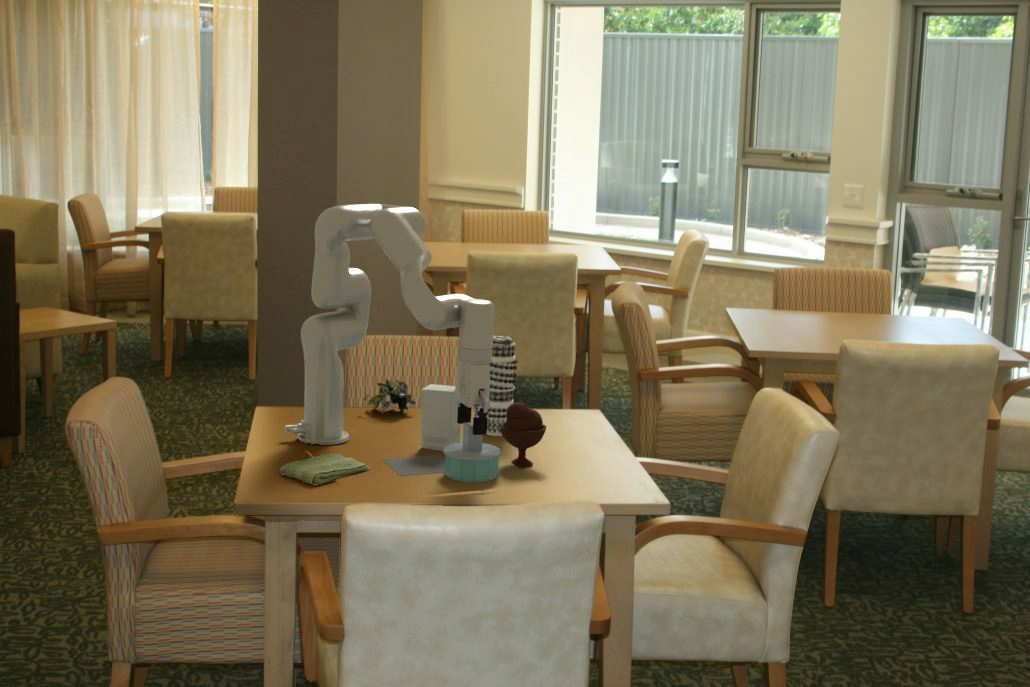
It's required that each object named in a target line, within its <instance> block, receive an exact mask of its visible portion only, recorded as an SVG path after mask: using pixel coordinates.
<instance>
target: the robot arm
mask: <svg viewBox="0 0 1030 687" xmlns="http://www.w3.org/2000/svg"><path fill="white" fill-rule="evenodd" d="M317 217H318V218H317V219H316V222H315V224H314V225H315V226H314V246H315V247H314V249H315V250H314V259H313V268H312V281H311V295H310V296H311V300H312V302H313V304H314V305H315V306H316V307H317V308H320V309H323V310H324V309H325V310H332V309H338V311H329V312H322V313H317V314H314V315H312V316H310V317H307V319H306V320H305V321H304V322H303V324H302V326H301V329H300V339H301V345H302V351H303V360H304V404H303V406H304V410H303V412H304V416H303V417H304V418H303V419H300V422H298V423H297V424H286V425H284V433H285V434H288V433H289V434H291V433H292V435H297V440H298V439H299V440H300V441H299V440H298V441H299V442H301V441H302V442H301V443H303V442H305V443H304V444H307V443H311V444H310V445H313V444H319V445H318V446H334V445H339V444H344V443H346V442H348V441H349V440H350V434H349V433H348V432H347V431H345V430H344V393H345V392H344V387H345V386H344V385H345V384H344V382H345V379H344V378H345V377H344V376H345V375H344V370H345V369H344V365H343V362H342V359H341V358H340V356H339V353H338V351H341V350H346V349H351V348H355V347H357V346H361V344H362V343H363V342H364V340H365V338H366V336H367V332H368V326H369V320H370V319H369V318H370V308H371V301H372V285H371V281H370V278H369V277H368V275H367V273H365V271H364V270H362V269H360V268H357V267H350V265H351V264H350V263H351V262H350V261H351V251H350V248H349V246H348V245H349V244H348V243H347V242H348V241H349V242H350V241H367V240H375V241H376V242H377V243H378V245H379V246H380V248H381V249H382V250H383V252H384V253H385V254H386V257H388V259H389V260H390V261H391V263H392V264H393V265H394V267H395V268H396V269H397V271H398V272H399V274H400V290H401V296H402V298H403V301H404V303H405V305H406V307H407V308H408V310H409V311H410V312H411V314H412V315H413V317H414V318H415V319H416V321H417V322H418V323H419V324H420V325H421V326H422V327H424V328H425V329H427V330H430V331H441V330H446V329H447V330H448V329H452V328H453V329H454V328H458V327H459V340H458V341H459V342H458V359H457V360H458V364H457V370H456V378H455V386H456V388H455V398H456V399H457V400H458V403H457V404H458V414H457V423H458V424H460V425H463V423H467V422H473V435H483V436H484V435H486V434H487V418H488V413H489V406H490V401H489V396H490V367H489V363H491V362H492V347H493V336H494V328H495V327H494V326H495V325H494V324H495V305H494V303H493V302H492V301H491V300H487V299H481V298H473V297H471V296H469V295H466V294H462V293H451V294H443V295H437V296H435V295H434V294H433V292H432V291H431V290H430V288H429V287H428V286H427V284H426V282H425V280H424V277H423V275H422V274H423V272H424V271H425V270H426V269H427V268H428V267H429V265H430V263H431V262H432V257H433V256H432V255H433V254H432V252H431V250H430V249H429V248H428V246H426V244H425V243H424V242H423V240H422V239H423V238H424V237H425V235H426V233H427V222H426V218H425V217H424V215H423V213H422V212H421V211H420V210H418V209H417V208H415V207H412V206H403V205H395V204H394V205H393V204H382V203H363V204H362V203H361V204H359V203H358V204H354V203H353V204H341V205H336V206H332V207H328V208H326V209H325V210H324V211H322V212H321V213H320V215H318V216H317ZM472 410H473V413H474V417H472ZM472 418H473V420H472ZM333 444H334V445H333Z"/></svg>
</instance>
